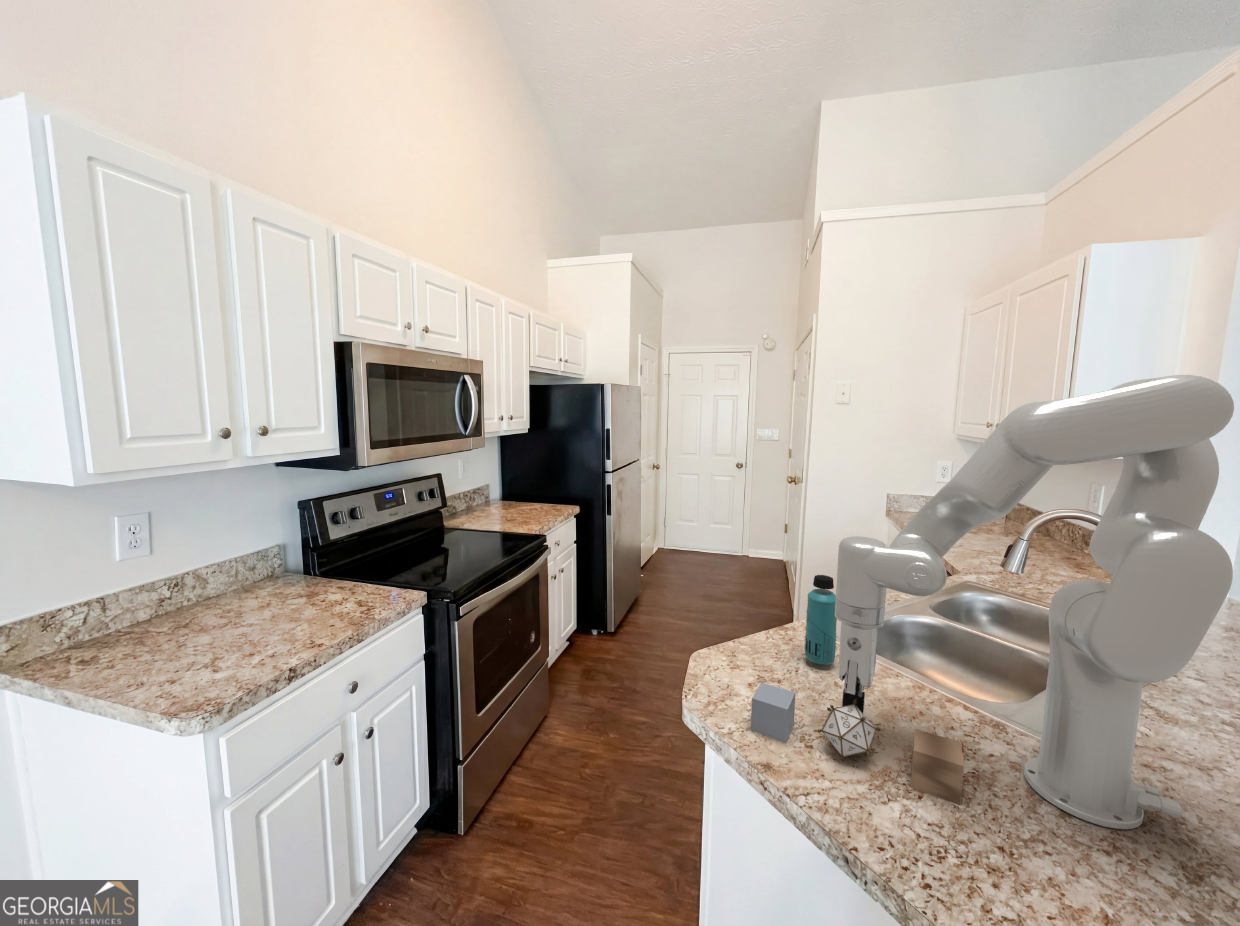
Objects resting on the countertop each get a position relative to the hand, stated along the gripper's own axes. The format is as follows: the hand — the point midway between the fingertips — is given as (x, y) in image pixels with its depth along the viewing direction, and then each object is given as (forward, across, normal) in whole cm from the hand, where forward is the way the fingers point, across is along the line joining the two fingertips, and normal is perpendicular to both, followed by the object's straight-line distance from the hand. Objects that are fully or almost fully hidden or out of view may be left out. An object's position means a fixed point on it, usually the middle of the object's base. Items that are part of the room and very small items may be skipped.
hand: (852, 713), depth 83 cm
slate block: (+4, -6, +12) cm, 14 cm away
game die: (+4, -6, 0) cm, 7 cm away
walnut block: (+4, -6, -12) cm, 14 cm away
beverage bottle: (+4, +22, +9) cm, 24 cm away
